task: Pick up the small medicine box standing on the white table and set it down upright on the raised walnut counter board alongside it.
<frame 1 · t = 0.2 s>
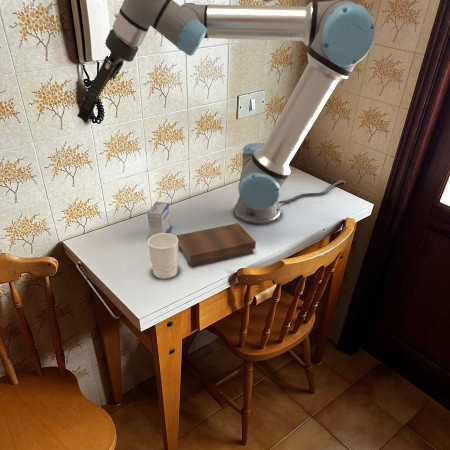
hand: (90, 111, 120), 35 cm above the table, tool tilted 35°, fingers open, 13 cm apart
medicine box: (160, 233, 139), on the table
counter board: (215, 250, 131), on the table
white cup: (165, 272, 122), on the table
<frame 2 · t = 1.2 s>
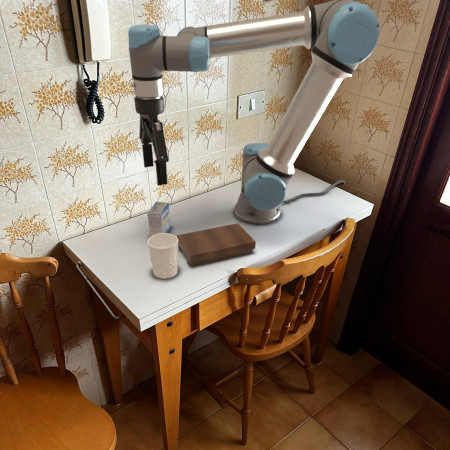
hand: (155, 175, 127), 19 cm above the table, tool pointing down, fingers open, 13 cm apart
nothing on the table moved.
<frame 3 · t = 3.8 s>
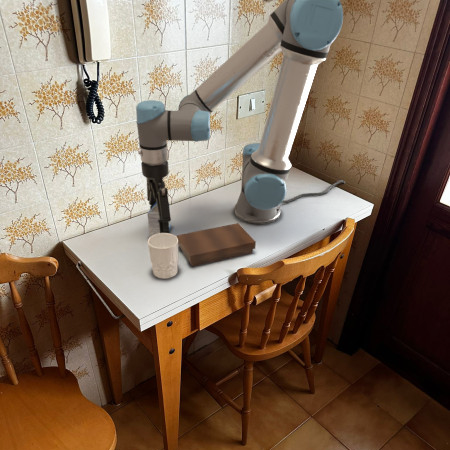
hand: (160, 231, 138), 0 cm above the table, tool pointing down, fingers closed on medicine box, 9 cm apart
medicine box: (160, 233, 139), on the table, touching gripper
everything else where it was.
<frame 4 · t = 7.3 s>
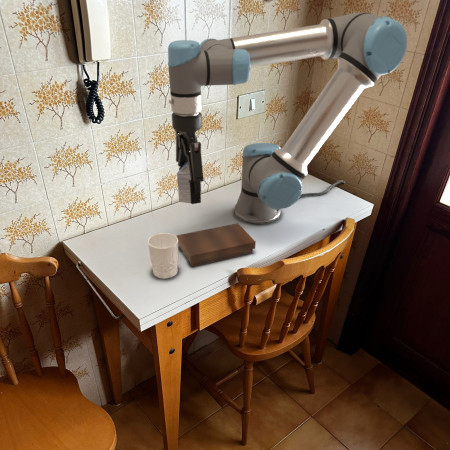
hand: (190, 195, 125), 15 cm above the table, tool pointing down, fingers closed on medicine box, 9 cm apart
medicine box: (190, 197, 125), point 15 cm above the table, touching gripper
everything else where it was.
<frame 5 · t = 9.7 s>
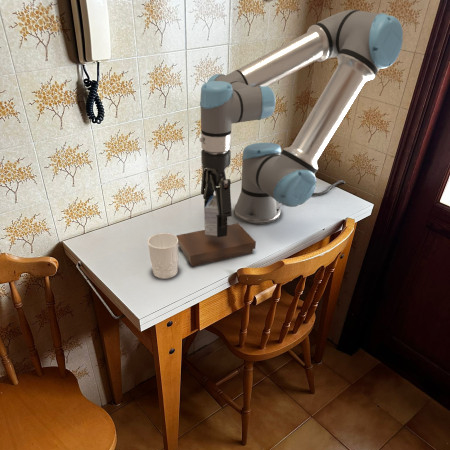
hand: (215, 228, 126), 7 cm above the table, tool pointing down, fingers closed on medicine box, 9 cm apart
medicine box: (215, 229, 127), point 7 cm above the table, touching gripper
everything else where it was.
when the fingers open (4 cm above the table, at t = 11.1 s): medicine box stays where it is, resting on counter board.
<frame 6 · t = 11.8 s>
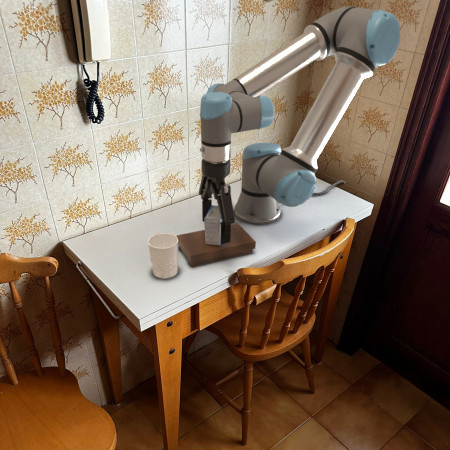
hand: (215, 231, 127), 6 cm above the table, tool pointing down, fingers open, 13 cm apart
medicine box: (215, 239, 129), point 4 cm above the table, touching counter board
everything else where it was.
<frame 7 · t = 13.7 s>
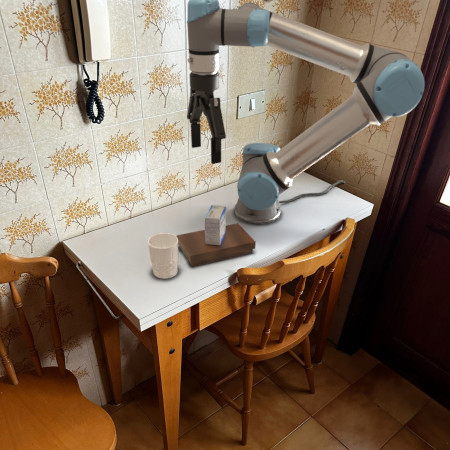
hand: (205, 154, 125), 24 cm above the table, tool pointing down, fingers open, 13 cm apart
nothing on the table moved.
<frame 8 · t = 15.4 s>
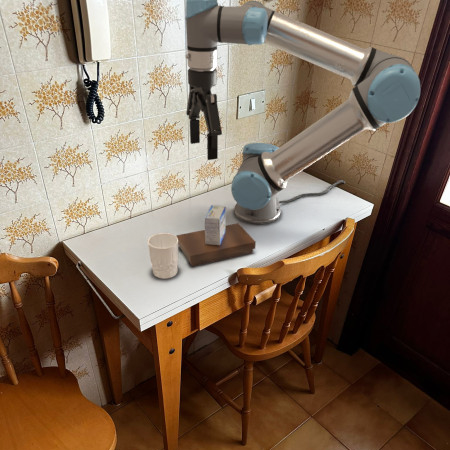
hand: (203, 150, 126), 25 cm above the table, tool pointing down, fingers open, 13 cm apart
nothing on the table moved.
at the end: medicine box inside the target area on the counter board (0.1 cm from its centre), point 3.8 cm above the counter board's base; medicine box tilted 0°; the gripper is holding nothing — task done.
